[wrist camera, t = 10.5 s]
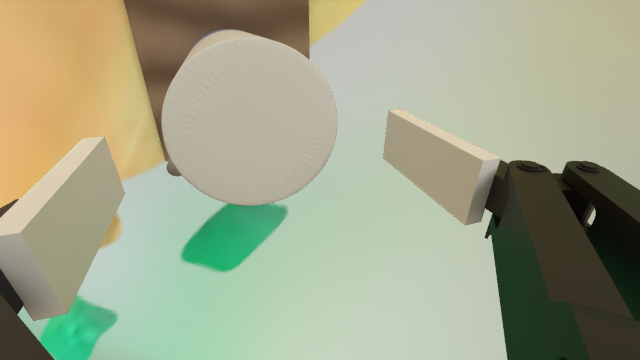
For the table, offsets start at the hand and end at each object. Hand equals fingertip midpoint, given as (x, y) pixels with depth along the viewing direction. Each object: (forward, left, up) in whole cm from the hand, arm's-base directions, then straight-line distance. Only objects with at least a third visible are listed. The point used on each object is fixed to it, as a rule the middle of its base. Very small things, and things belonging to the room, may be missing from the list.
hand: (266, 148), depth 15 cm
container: (0, 0, -23) cm, 23 cm away
